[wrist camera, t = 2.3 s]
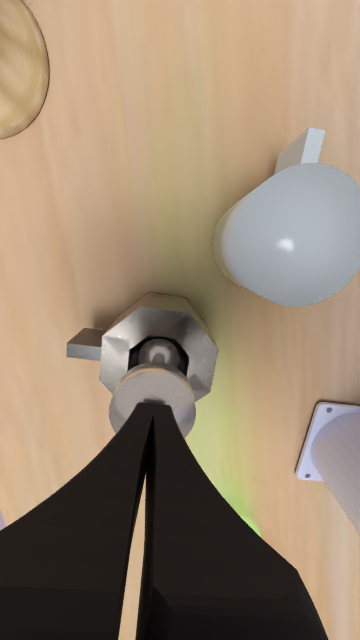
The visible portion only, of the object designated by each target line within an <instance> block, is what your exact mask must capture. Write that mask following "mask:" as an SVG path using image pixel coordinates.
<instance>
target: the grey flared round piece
mask: <svg viewBox="0 0 360 640" xmlns="http://www.w3.org/2000/svg"><path fill="white" fill-rule="evenodd" d="M179 360H180V358H179V350H178V347H177V346H176V344H175V343H174V342H173V341H172V340H170V339H169V338H166V337H161V336H156V337H152V338H150V339H148V340H147V341H145V342H144V344H143V345H142V347H141V349H140V352H139V356H138V361H139V365H138V366H136V367H134V368H132V369H130V370H129V371H128V372H127V373H125V374H124V376H123V377H122V378H121V379H120V381H119V383H118V385H117V387H116V390H115V392H114V395H113V397H112V400H111V403H110V407H109V418H110V422H111V425H112V427H113V429H114V431H115V432H116V434H117V432H118V431H119V430H120V428H121V427H122V426H123V424H124V423H125V422H126V420H127V419H128V417H129V416H130V415H131V413H132V411H133V410H134V408H135V406H136V404H137V403H139V402H144V403H154V404H164V405H170V406H171V408H172V411H173V414H174V417H175V419H176V422H177V424H178V427H179V429H180V431H181V433H182V435H183V437H184V438H185V437H186V436H187V435H188V434H189V432H190V431H191V429H192V427H193V425H194V422H195V416H196V409H195V402H194V396H193V390H192V387H191V384H190V382H189V380H188V379H187V378H186V376H185V375H184V374H183V373H182V372H180V371H179V370H178V369H177V367H178V365H179Z"/></svg>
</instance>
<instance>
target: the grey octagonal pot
mask: <svg viewBox="0 0 360 640" xmlns="http://www.w3.org/2000/svg"><path fill="white" fill-rule="evenodd" d="M156 336H161V337H166V338H169V339H170V340H172V341H173V342H174V343H175V344H176V346H177V347H178V350H179V358H180V360H179V365H178V367H177V369H178V370H179V371H180V372H182V373H183V374H184V375H185V376H186V378H187V379H188V380H189V382H190V384H191V387H192V390H193V396H194V402H196V401H198V400H199V399H201V398H202V397H203V396H205V395H206V394H208V393H209V392H210V390H211V385H212V380H213V375H214V369H215V364H216V359H217V353H218V348H217V346H216V344H215V342H214V340H213V338H212V336H211V334H210V332H209V329H208V327H207V325H206V324H205V323H204V321H203V320H202V319H201V317H200V316H199V315H198V313H197V312H196V311H195V310H194V308H193V307H192V306H191V304H190V303H189V302H188V300H187V299H186V298H185V297H179V296H172V295H164V294H157V293H149V292H148V293H147V294H146V295H144V296H143V297H142V298H141V299H139V300H138V301H137V302H135V303H134V304H133V305H131V306H130V307H129V308H128V309H126V310H125V311H124V312H122V313H121V314H120V315H119V316H118V317H117V318H116V320H115V321H114V322H113V323H112V325H111V326H110V327H109V328H108V329H107V331H106V330H98V329H89V328H84V329H83V330H81V331H80V332H79V333H78V334H77V335H76V336H75V337H73V338H72V339H71V340H70V341H69V342H68V343H67V357H71V358H80V359H88V360H97V361H101V363H100V378H99V380H100V381H101V382H102V383H103V384H104V385H105V386H106V387H107V389H108V390H109V391H110V392H111V393H112V394H113V395H114V392H115V390H116V387H117V385H118V383H119V381H120V379H121V378H122V377H123V376H124V374H125V373H127V372H128V371H129V370H130V369H132V368H134V367H136V366H138V365H139V361H138V356H139V352H140V349H141V347H142V345H143V344H144V342H145V341H147V340H148V339H150V338H152V337H156Z"/></svg>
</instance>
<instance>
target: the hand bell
mask: <svg viewBox="0 0 360 640" xmlns="http://www.w3.org/2000/svg"><path fill="white" fill-rule="evenodd" d="M48 82H49V67H48V57H47V51H46V47H45V43H44V40H43V37H42V34H41V31H40V29H39V27H38V24H37V22H36V20H35V19H34V17H33V15H32V14H31V12H30V11H29V9H28V7H27V6H26V5H25V4H24V2H23V1H22V0H0V139H2V138H6V137H10V136H13V135H15V134H17V133H19V132H20V131H22V130H24V129H25V128H26V127H27V126H28V125H29V124H30V123H31V122H32V121H33V120H34V119H35V117H36V116H37V115H38V113H39V111H40V110H41V107H42V105H43V103H44V100H45V96H46V92H47V89H48Z"/></svg>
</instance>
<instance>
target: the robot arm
mask: <svg viewBox="0 0 360 640" xmlns="http://www.w3.org/2000/svg"><path fill="white" fill-rule="evenodd" d="M329 407H330V408H329ZM327 408H329V409H328V410H327ZM295 474H296V476H297V478H299V479H303V480H314V481H324V482H325V483H326V485H327V486H328V488H329V489H330V491H331V492H332V494H333V495H334V497H335V499H336V500H337V502H338V503H339V505H340V506H341V508H342V509H343V511H344V512H345V514H346V515H347V517H348V518H349V520H350V521H351V523H352V524H353V526H354V527H355V529H356V530H357V532H358V533H359V535H360V406H355V405H346V404H337V403H328V402H320V403H318V404H317V406H316V408H315V411H314V414H313V418H312V421H311V424H310V427H309V430H308V434H307V437H306V440H305V443H304V446H303V450H302V453H301V456H300V459H299V462H298V466H297V469H296V472H295ZM145 475H146V499H145V541H144V556H143V567H142V577H141V588H140V598H139V608H138V619H137V629H136V639H135V640H328V637H327V635H326V632H325V630H324V627H323V625H322V622H321V620H320V617H319V615H318V613H317V610H316V608H315V606H314V604H313V602H312V599H311V597H310V595H309V593H308V591H307V589H306V587H305V585H304V583H303V581H302V579H301V577H300V575H299V573H298V571H297V569H295V568H294V567H293V566H292V565H291V564H290V563H289V562H288V561H286V560H285V559H284V558H283V557H282V556H281V555H280V554H279V553H277V552H276V551H275V550H274V549H273V548H272V547H271V546H270V545H268V544H267V543H266V542H265V541H264V540H263V539H262V538H261V537H260V536H259V535H258V534H256V532H255V531H254V530H253V529H252V528H251V527H249V526H248V524H246V522H245V521H244V520H243V519H242V518H241V517H240V516H239V515H238V514H237V513H236V512H235V510H234V509H233V508H232V507H231V506H230V505H229V504H228V502H227V501H226V500H225V499H224V498H223V497H222V496H221V494H220V493H219V492H218V490H217V489H216V488H215V486H214V485H213V484H212V483H211V481H210V480H209V478H208V477H207V476H206V474H205V473H204V471H203V470H202V468H201V467H200V465H199V464H198V462H197V461H196V459H195V457H194V455H193V454H192V452H191V450H190V449H189V447H188V445H187V443H186V441H185V439H184V437H183V435H182V433H181V431H180V429H179V427H178V424H177V422H176V419H175V417H174V414H173V411H172V408H171V406H170V405H164V404H154V403H144V402H139V403H137V404H136V406H135V408H134V410H133V411H132V413H131V415H130V416H129V417H128V419H127V420H126V422H125V423H124V424H123V426H122V427H121V428H120V430H119V431H118V432H117V434H116V435H115V436H114V437H113V438H112V439H111V441H110V442H109V443H108V444H107V445H106V446H105V447H104V449H103V450H102V451H101V452H100V453H99V454H98V455H97V456H96V457H95V458H94V459H93V460H92V461H91V462H90V463H89V464H88V465H87V466H86V467H85V468H84V469H82V470H81V471H80V472H79V473H78V474H77V475H76V476H74V477H73V478H72V479H71V480H70V481H69V482H67V483H66V484H65V485H64V486H63V487H61V488H60V489H59V490H58V491H56V492H55V493H54V494H53V495H51V496H50V497H49V498H47V499H46V500H44V501H43V502H42V503H40V504H39V505H38V506H36V507H35V508H33V509H32V510H31V511H29V512H28V513H27V514H25V515H24V516H22V517H21V518H19V519H18V520H16V521H15V522H13V523H12V524H10V525H9V526H7V527H5V528H4V529H2V530H1V531H0V640H118V637H119V630H120V622H121V615H122V607H123V600H124V592H125V585H126V577H127V570H128V562H129V555H130V549H131V543H132V537H133V532H134V527H135V523H136V518H137V513H138V508H139V503H140V499H141V494H142V489H143V484H144V479H145Z"/></svg>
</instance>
